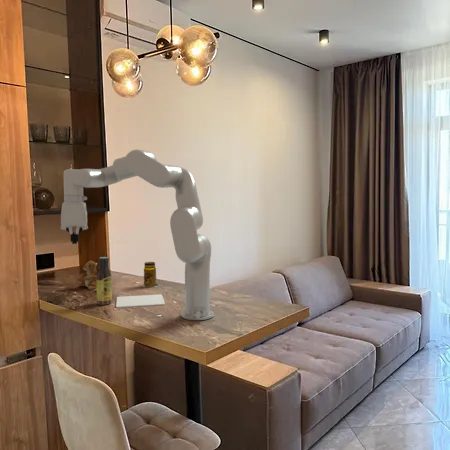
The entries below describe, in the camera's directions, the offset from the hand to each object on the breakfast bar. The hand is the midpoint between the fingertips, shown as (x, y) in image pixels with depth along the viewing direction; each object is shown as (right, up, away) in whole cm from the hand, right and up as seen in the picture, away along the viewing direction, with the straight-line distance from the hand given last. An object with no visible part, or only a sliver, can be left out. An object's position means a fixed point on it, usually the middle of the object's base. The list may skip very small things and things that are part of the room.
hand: (74, 243), depth 176 cm
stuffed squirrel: (-3, -23, +36) cm, 43 cm away
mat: (+26, -26, +8) cm, 37 cm away
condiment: (+25, -23, +38) cm, 51 cm away
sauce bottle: (+11, -26, +5) cm, 29 cm away
